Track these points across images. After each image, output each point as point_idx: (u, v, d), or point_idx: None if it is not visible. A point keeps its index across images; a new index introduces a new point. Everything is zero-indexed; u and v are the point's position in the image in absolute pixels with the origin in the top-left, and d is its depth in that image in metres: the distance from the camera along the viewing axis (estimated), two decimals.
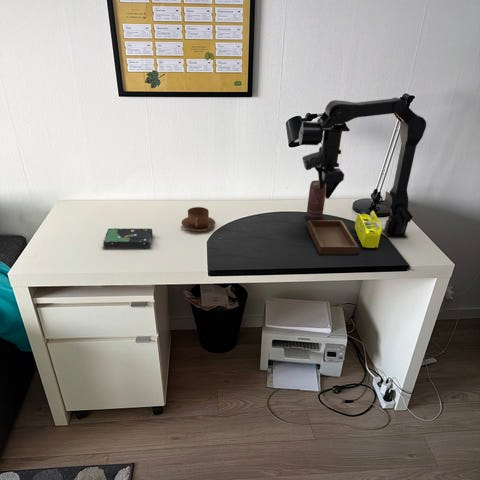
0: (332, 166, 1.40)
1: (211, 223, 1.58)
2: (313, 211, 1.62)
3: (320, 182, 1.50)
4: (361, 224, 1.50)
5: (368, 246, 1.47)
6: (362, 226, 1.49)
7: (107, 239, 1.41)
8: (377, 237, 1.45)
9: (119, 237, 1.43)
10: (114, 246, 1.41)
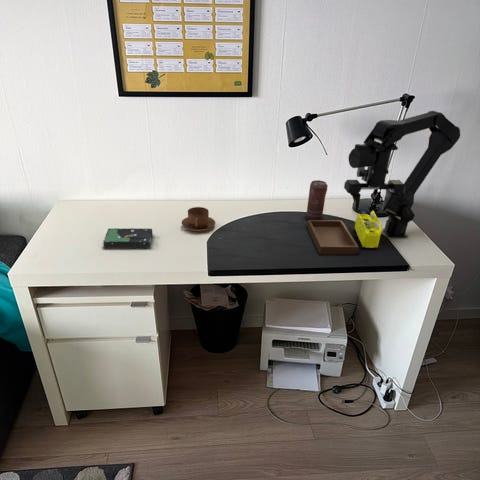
0: (367, 183, 1.41)
1: (211, 223, 1.58)
2: (313, 211, 1.62)
3: (383, 204, 1.47)
4: (361, 224, 1.50)
5: (368, 246, 1.47)
6: (362, 226, 1.49)
7: (107, 239, 1.41)
8: (377, 237, 1.45)
9: (119, 237, 1.43)
10: (114, 246, 1.41)
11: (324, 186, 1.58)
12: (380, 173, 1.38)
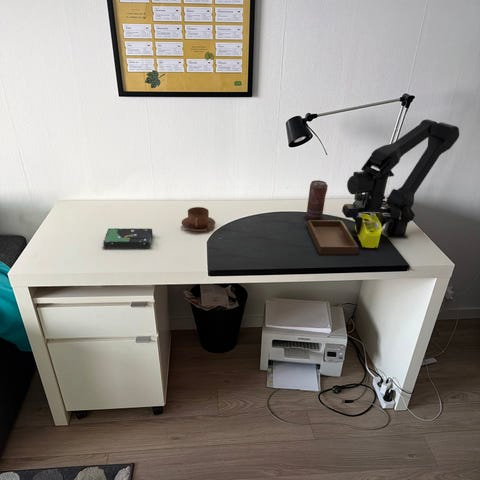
0: (365, 207, 1.46)
1: (211, 223, 1.58)
2: (313, 211, 1.62)
3: None
4: (361, 224, 1.50)
5: (368, 246, 1.47)
6: (362, 226, 1.49)
7: (107, 239, 1.41)
8: (377, 237, 1.45)
9: (119, 237, 1.43)
10: (114, 246, 1.41)
11: (324, 186, 1.58)
12: (377, 199, 1.42)
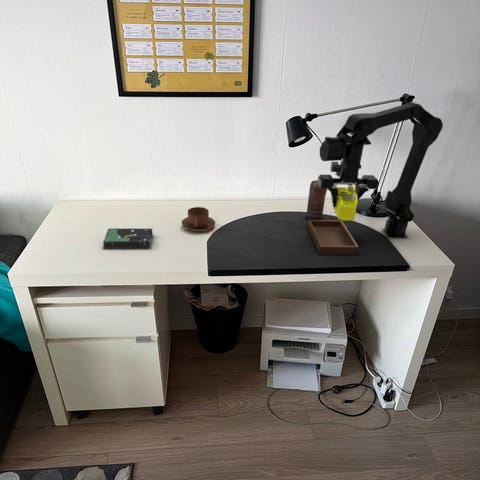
0: (340, 178, 1.39)
1: (211, 223, 1.58)
2: (313, 211, 1.62)
3: None
4: (337, 196, 1.43)
5: (344, 219, 1.40)
6: (338, 198, 1.42)
7: (107, 239, 1.41)
8: (353, 209, 1.38)
9: (119, 237, 1.43)
10: (114, 246, 1.41)
11: None
12: (352, 168, 1.35)
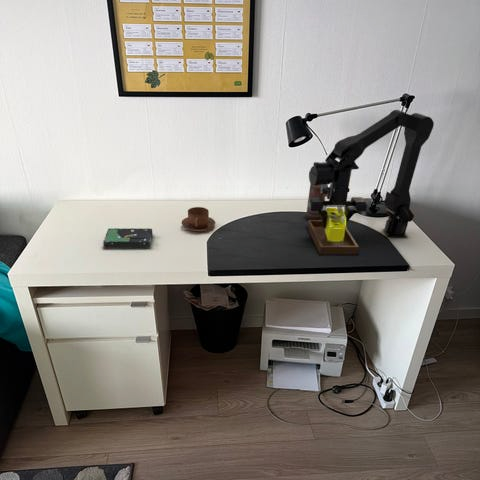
0: (330, 201, 1.43)
1: (211, 223, 1.58)
2: (313, 211, 1.62)
3: None
4: (327, 218, 1.47)
5: (333, 240, 1.44)
6: (328, 220, 1.46)
7: (107, 239, 1.41)
8: (342, 231, 1.42)
9: (119, 237, 1.43)
10: (114, 246, 1.41)
11: None
12: (341, 191, 1.39)
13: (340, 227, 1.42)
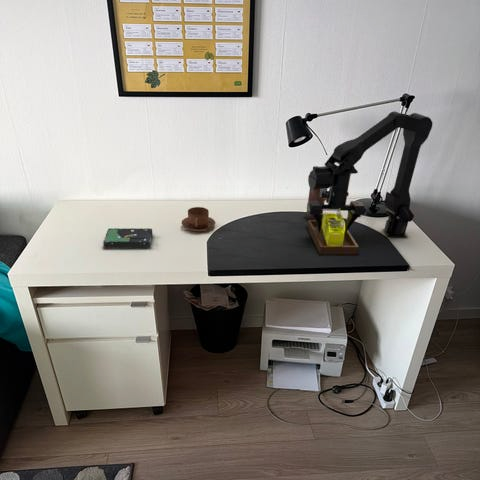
0: (329, 204, 1.44)
1: (211, 223, 1.58)
2: None
3: (345, 225, 1.50)
4: (326, 223, 1.48)
5: (332, 245, 1.45)
6: (327, 225, 1.47)
7: (107, 239, 1.41)
8: (341, 236, 1.43)
9: (119, 237, 1.43)
10: (114, 246, 1.41)
11: None
12: (340, 195, 1.40)
13: (339, 232, 1.43)
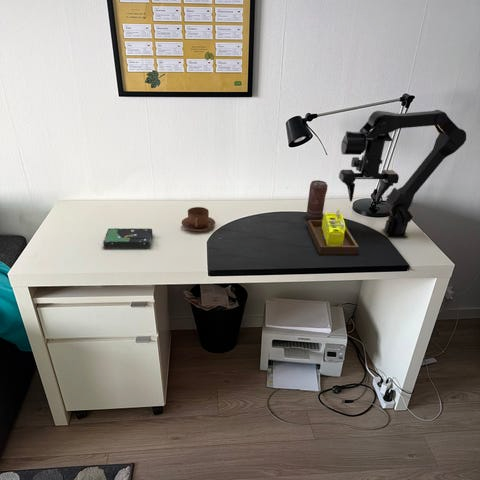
0: (361, 173, 1.44)
1: (211, 223, 1.58)
2: (313, 211, 1.62)
3: (377, 194, 1.50)
4: (326, 223, 1.48)
5: (332, 245, 1.45)
6: (327, 225, 1.47)
7: (107, 239, 1.41)
8: (341, 236, 1.43)
9: (119, 237, 1.43)
10: (114, 246, 1.41)
11: (324, 186, 1.58)
12: (374, 163, 1.40)
13: (339, 232, 1.43)
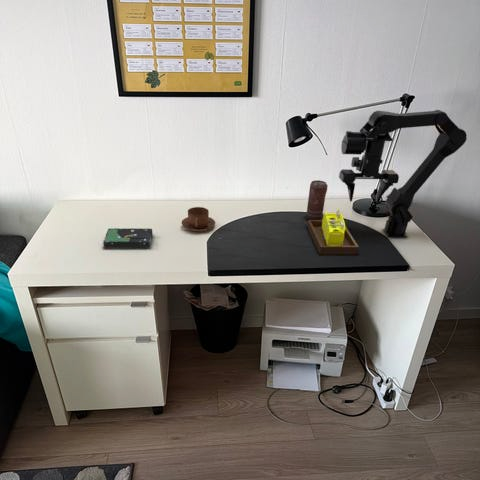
0: (362, 173, 1.44)
1: (211, 223, 1.58)
2: (313, 211, 1.62)
3: (377, 194, 1.50)
4: (326, 223, 1.48)
5: (332, 245, 1.45)
6: (327, 225, 1.47)
7: (107, 239, 1.41)
8: (341, 236, 1.43)
9: (119, 237, 1.43)
10: (114, 246, 1.41)
11: (324, 186, 1.58)
12: (374, 163, 1.40)
13: (339, 232, 1.43)
